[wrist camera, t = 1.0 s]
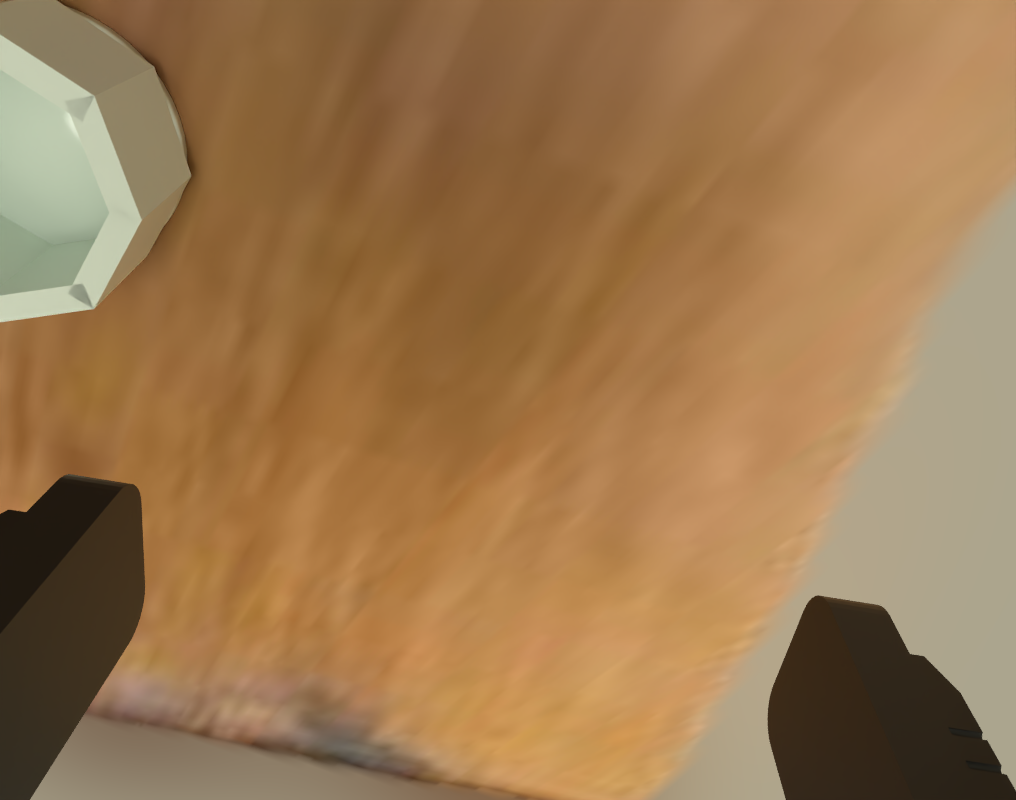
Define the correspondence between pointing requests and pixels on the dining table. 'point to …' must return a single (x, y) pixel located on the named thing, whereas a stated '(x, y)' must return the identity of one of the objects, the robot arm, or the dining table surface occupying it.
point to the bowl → (78, 159)
